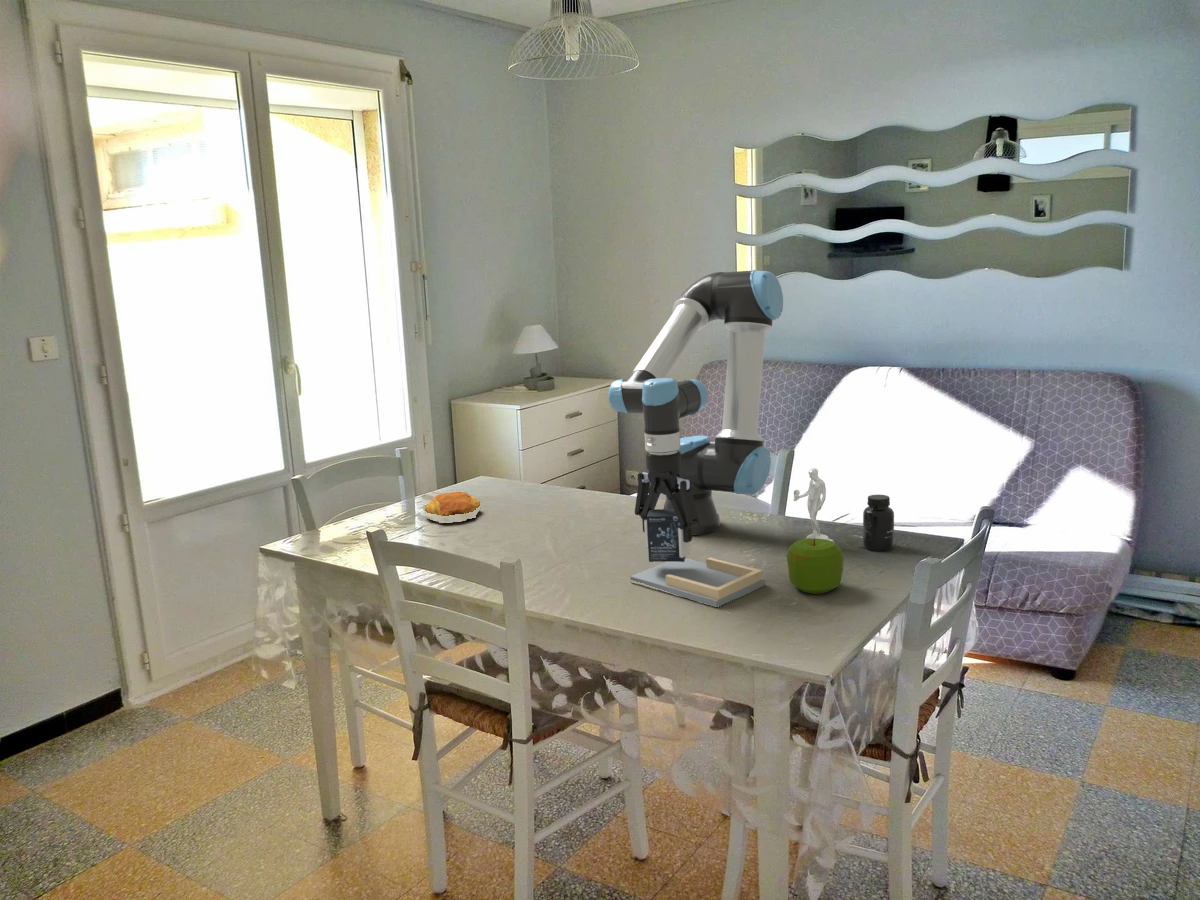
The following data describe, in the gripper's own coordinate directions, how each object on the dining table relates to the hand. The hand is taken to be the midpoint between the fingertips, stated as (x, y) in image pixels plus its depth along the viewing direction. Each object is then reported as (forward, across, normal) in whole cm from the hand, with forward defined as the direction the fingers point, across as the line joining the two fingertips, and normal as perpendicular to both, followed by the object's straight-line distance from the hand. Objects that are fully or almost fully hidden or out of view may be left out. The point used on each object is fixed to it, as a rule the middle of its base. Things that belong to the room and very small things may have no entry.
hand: (667, 551), depth 208 cm
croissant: (+6, -81, 0) cm, 81 cm away
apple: (+6, +29, +13) cm, 32 cm away
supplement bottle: (+6, +26, +43) cm, 51 cm away
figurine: (+6, +12, +38) cm, 40 cm away
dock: (+6, +8, 0) cm, 10 cm away
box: (+2, 0, 0) cm, 2 cm away
